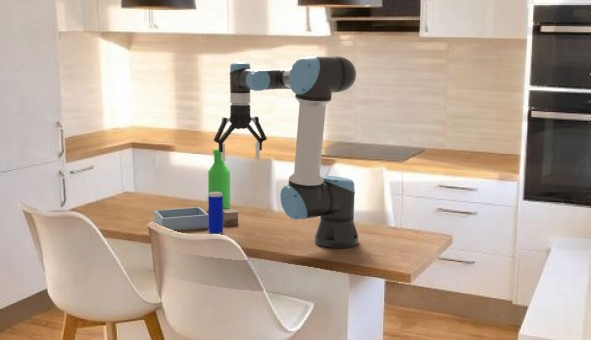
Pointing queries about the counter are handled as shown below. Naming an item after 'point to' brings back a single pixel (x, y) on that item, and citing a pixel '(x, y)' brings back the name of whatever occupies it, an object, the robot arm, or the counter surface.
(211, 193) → the beverage can
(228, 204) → the bottle
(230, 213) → the walnut cube
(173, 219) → the box
